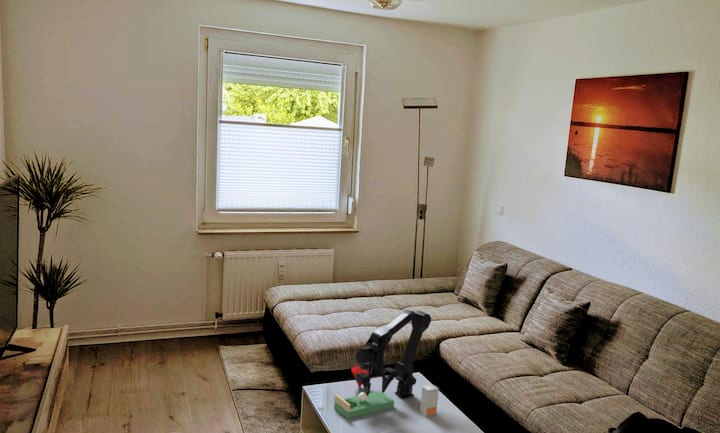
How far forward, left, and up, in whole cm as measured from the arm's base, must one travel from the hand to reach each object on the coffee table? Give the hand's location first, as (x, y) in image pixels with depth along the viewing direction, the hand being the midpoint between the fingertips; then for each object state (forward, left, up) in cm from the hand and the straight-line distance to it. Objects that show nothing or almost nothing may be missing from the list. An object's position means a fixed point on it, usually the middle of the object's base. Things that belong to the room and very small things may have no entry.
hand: (375, 394), depth 248 cm
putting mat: (+5, 0, -5) cm, 7 cm away
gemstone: (-4, -17, -5) cm, 18 cm away
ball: (+6, 0, -2) cm, 7 cm away
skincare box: (-17, +17, -5) cm, 24 cm away
